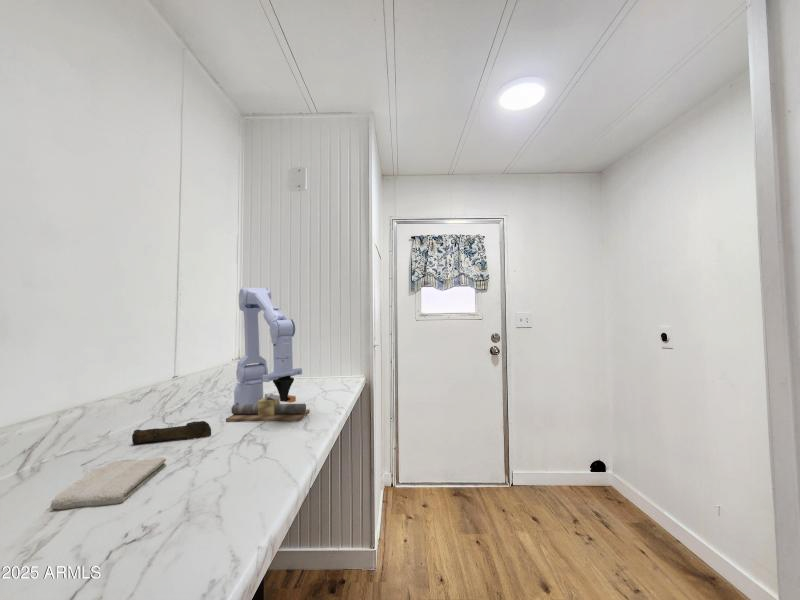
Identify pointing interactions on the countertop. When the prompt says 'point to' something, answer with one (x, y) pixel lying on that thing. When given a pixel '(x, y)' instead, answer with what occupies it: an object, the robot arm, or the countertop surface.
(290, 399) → the valve lever
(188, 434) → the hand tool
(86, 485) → the washcloth
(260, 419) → the valve board
